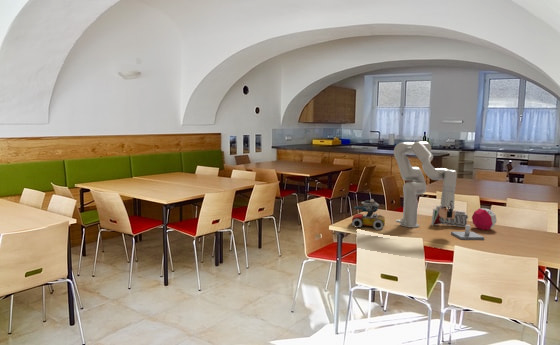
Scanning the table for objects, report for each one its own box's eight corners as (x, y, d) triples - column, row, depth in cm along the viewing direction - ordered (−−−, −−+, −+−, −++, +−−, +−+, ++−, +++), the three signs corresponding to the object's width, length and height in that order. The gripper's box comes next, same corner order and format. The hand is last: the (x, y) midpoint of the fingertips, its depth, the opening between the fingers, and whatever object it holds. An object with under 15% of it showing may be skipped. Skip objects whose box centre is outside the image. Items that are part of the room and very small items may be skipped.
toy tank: (353, 222, 312) (354, 195, 310) (384, 224, 306) (386, 197, 304) (351, 227, 295) (352, 199, 292) (384, 230, 289) (385, 201, 287)
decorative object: (468, 207, 300) (486, 202, 303) (466, 225, 307) (483, 219, 310) (484, 218, 287) (502, 212, 291) (481, 236, 294) (499, 230, 298)
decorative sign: (464, 229, 307) (468, 208, 305) (465, 230, 304) (469, 209, 302) (430, 224, 309) (434, 203, 307) (431, 225, 306) (435, 204, 304)
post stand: (461, 239, 269) (461, 227, 268) (450, 233, 283) (451, 222, 282) (484, 239, 270) (484, 227, 269) (472, 234, 284) (473, 222, 283)
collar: (443, 218, 273) (444, 210, 272) (439, 215, 280) (439, 208, 279) (454, 218, 273) (455, 210, 273) (449, 216, 280) (450, 208, 280)
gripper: (437, 186, 283) (435, 213, 285) (449, 191, 265) (447, 219, 268) (448, 187, 283) (446, 213, 285) (461, 191, 266) (458, 219, 268)
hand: (446, 215), depth 276 cm, fingers closed on collar, 7 cm apart
